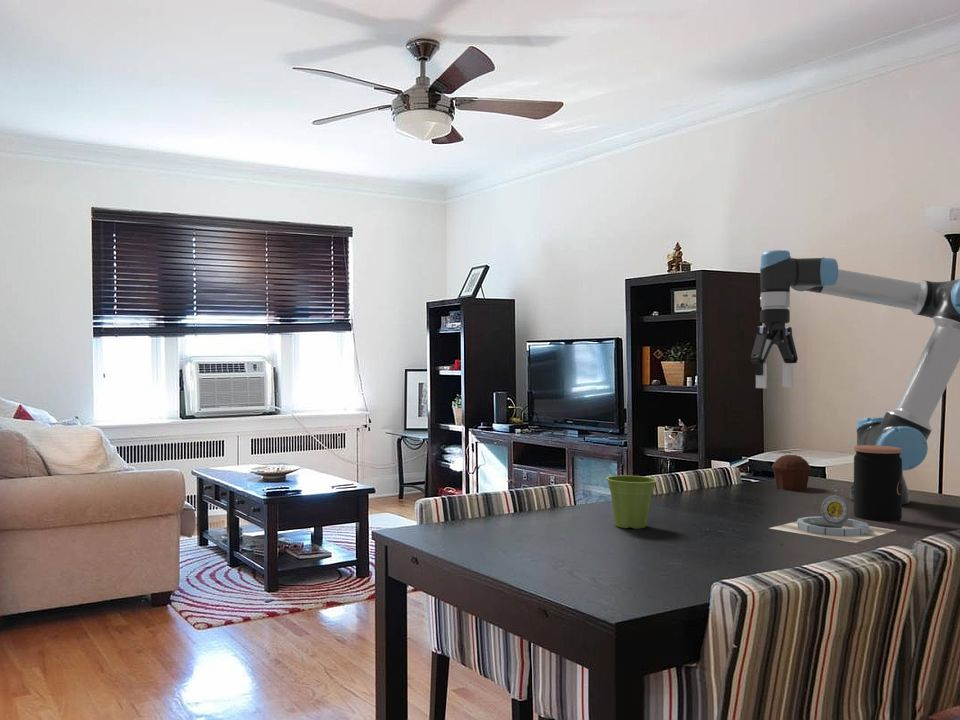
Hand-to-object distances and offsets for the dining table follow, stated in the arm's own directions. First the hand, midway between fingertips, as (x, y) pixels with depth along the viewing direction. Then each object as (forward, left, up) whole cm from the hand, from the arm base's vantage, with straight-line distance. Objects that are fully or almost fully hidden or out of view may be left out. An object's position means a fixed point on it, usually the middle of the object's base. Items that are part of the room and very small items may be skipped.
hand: (774, 387), depth 232 cm
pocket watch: (+26, +28, -30) cm, 49 cm away
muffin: (-33, -13, -32) cm, 48 cm away
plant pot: (+52, -7, -32) cm, 61 cm away
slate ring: (+24, +28, -31) cm, 48 cm away
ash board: (+24, +28, -32) cm, 49 cm away
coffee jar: (+1, +28, -32) cm, 42 cm away
